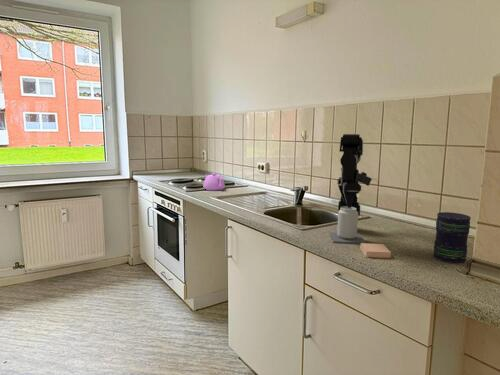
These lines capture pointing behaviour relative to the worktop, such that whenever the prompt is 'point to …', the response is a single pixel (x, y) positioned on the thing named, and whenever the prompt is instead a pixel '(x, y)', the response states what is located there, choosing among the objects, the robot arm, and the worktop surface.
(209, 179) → the teapot
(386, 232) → the worktop surface
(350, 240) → the mat
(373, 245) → the tile
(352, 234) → the can
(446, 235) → the storage jar
